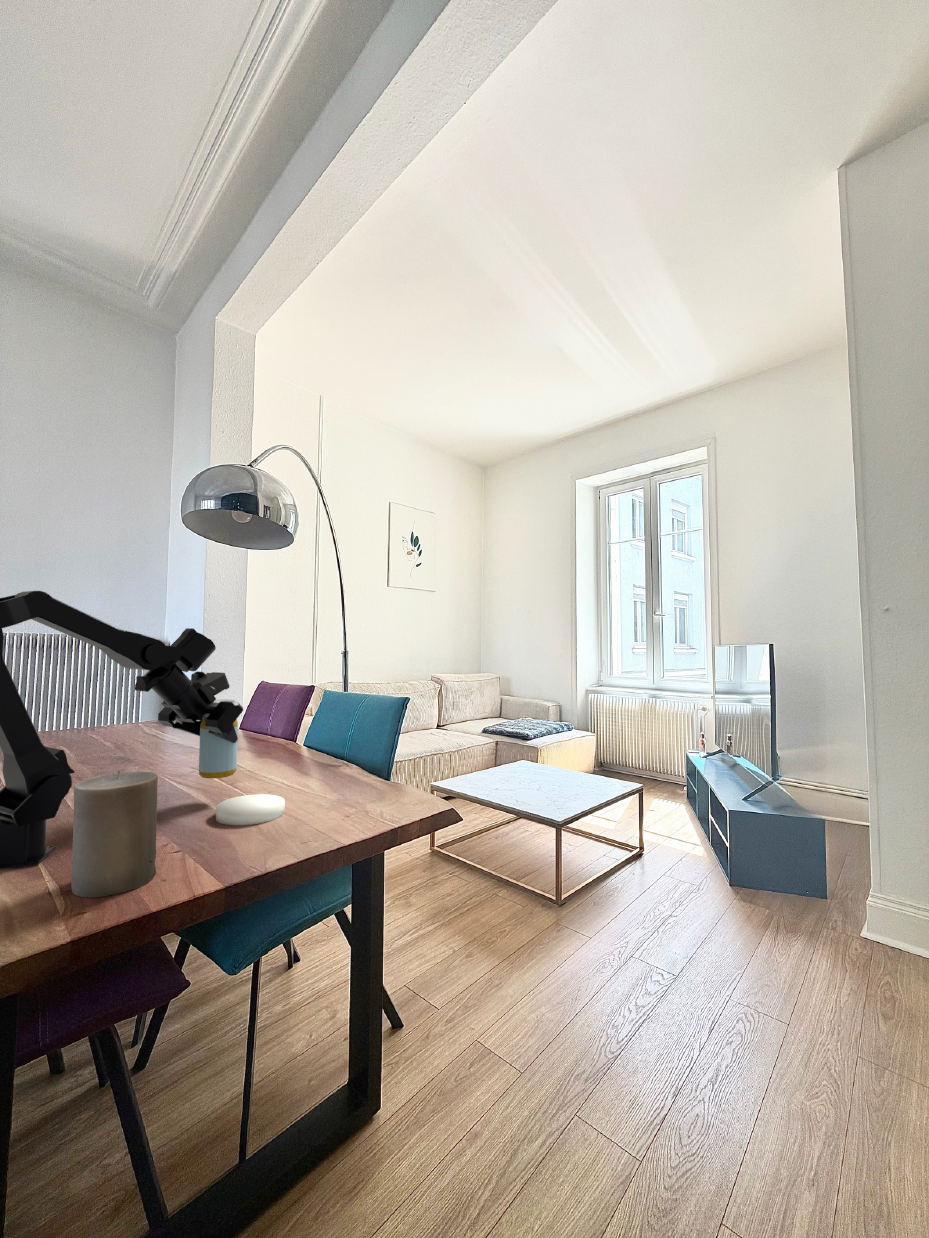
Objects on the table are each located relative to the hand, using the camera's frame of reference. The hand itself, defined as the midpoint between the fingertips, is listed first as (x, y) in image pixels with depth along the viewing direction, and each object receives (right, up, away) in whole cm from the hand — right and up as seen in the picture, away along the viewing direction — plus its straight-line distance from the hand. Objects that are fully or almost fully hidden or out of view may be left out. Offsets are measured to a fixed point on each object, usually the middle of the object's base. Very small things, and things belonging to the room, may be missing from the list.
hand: (224, 739), depth 109 cm
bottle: (-1, -7, -1) cm, 7 cm away
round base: (+9, -12, -10) cm, 18 cm away
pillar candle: (+2, -11, -38) cm, 39 cm away
